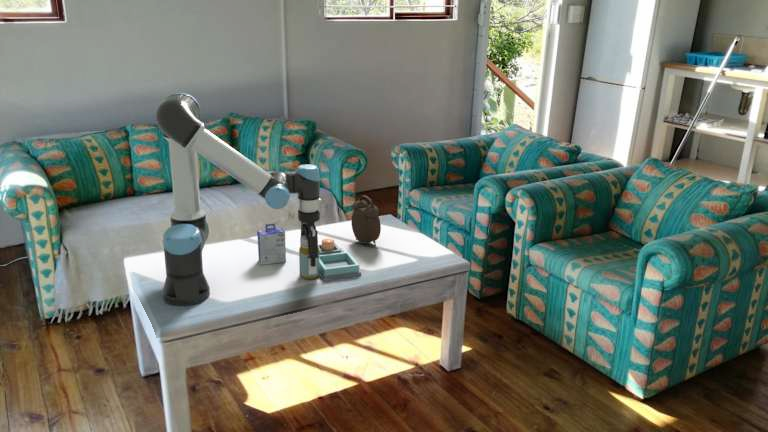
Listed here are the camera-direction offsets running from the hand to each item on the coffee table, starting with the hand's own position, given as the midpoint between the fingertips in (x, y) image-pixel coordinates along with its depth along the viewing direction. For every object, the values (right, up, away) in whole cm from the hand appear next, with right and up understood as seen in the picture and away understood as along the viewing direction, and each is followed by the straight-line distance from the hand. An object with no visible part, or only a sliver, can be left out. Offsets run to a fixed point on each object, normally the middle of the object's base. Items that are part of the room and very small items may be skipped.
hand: (309, 269), depth 239 cm
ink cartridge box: (-15, +2, +12) cm, 20 cm away
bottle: (0, -3, +1) cm, 3 cm away
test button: (+5, +5, +16) cm, 18 cm away
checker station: (+8, +1, +11) cm, 13 cm away
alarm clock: (+19, +8, +32) cm, 39 cm away
